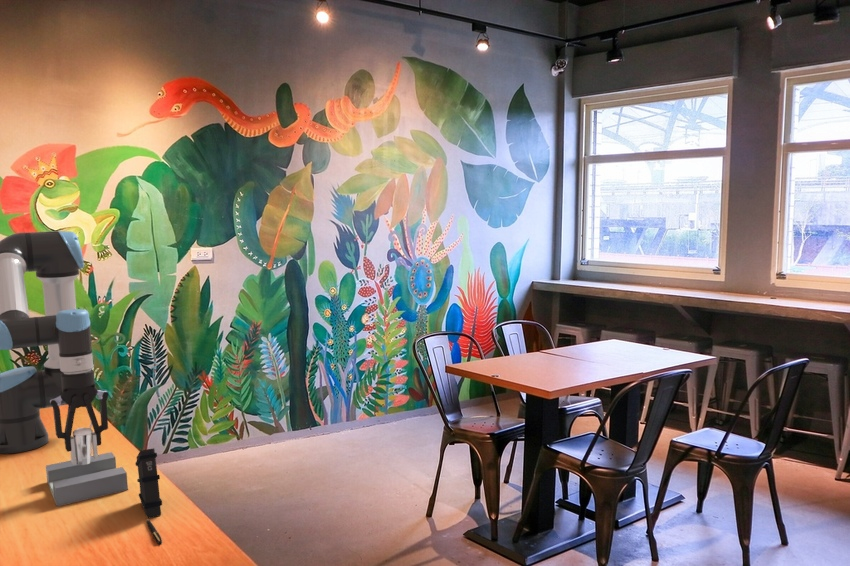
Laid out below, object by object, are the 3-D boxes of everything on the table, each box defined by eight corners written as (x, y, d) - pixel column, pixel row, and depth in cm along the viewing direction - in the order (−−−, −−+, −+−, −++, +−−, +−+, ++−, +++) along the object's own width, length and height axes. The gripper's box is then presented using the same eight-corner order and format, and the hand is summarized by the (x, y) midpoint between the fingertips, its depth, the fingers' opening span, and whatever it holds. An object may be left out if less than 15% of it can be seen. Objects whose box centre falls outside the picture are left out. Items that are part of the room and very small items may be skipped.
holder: (47, 482, 183) (45, 465, 182) (112, 467, 192) (111, 452, 191) (57, 506, 167) (55, 488, 167) (127, 489, 176) (126, 472, 176)
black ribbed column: (147, 517, 156) (138, 450, 160) (141, 521, 167) (134, 459, 171) (164, 513, 158) (156, 447, 162) (158, 518, 169) (150, 456, 173)
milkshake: (100, 460, 181) (98, 422, 180) (83, 467, 176) (82, 428, 175) (86, 458, 182) (85, 420, 181) (69, 464, 177) (68, 426, 176)
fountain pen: (144, 522, 158) (143, 516, 158) (149, 520, 159) (149, 514, 159) (158, 547, 146) (157, 540, 146) (164, 545, 147) (163, 539, 147)
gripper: (39, 379, 168) (48, 472, 171) (117, 368, 178) (124, 456, 181) (36, 373, 175) (44, 464, 177) (111, 363, 184) (118, 449, 187)
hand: (84, 460), depth 179 cm, fingers closed on milkshake, 4 cm apart
